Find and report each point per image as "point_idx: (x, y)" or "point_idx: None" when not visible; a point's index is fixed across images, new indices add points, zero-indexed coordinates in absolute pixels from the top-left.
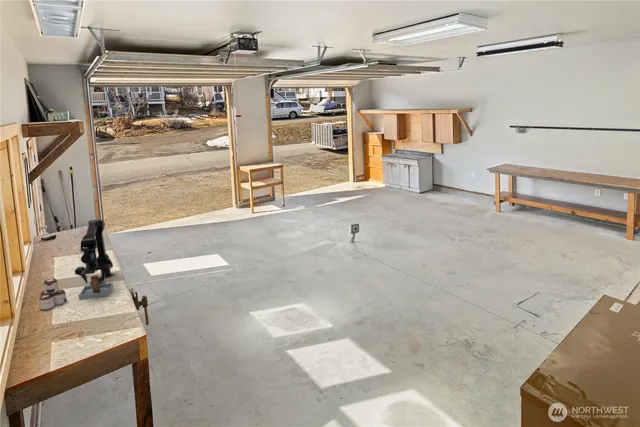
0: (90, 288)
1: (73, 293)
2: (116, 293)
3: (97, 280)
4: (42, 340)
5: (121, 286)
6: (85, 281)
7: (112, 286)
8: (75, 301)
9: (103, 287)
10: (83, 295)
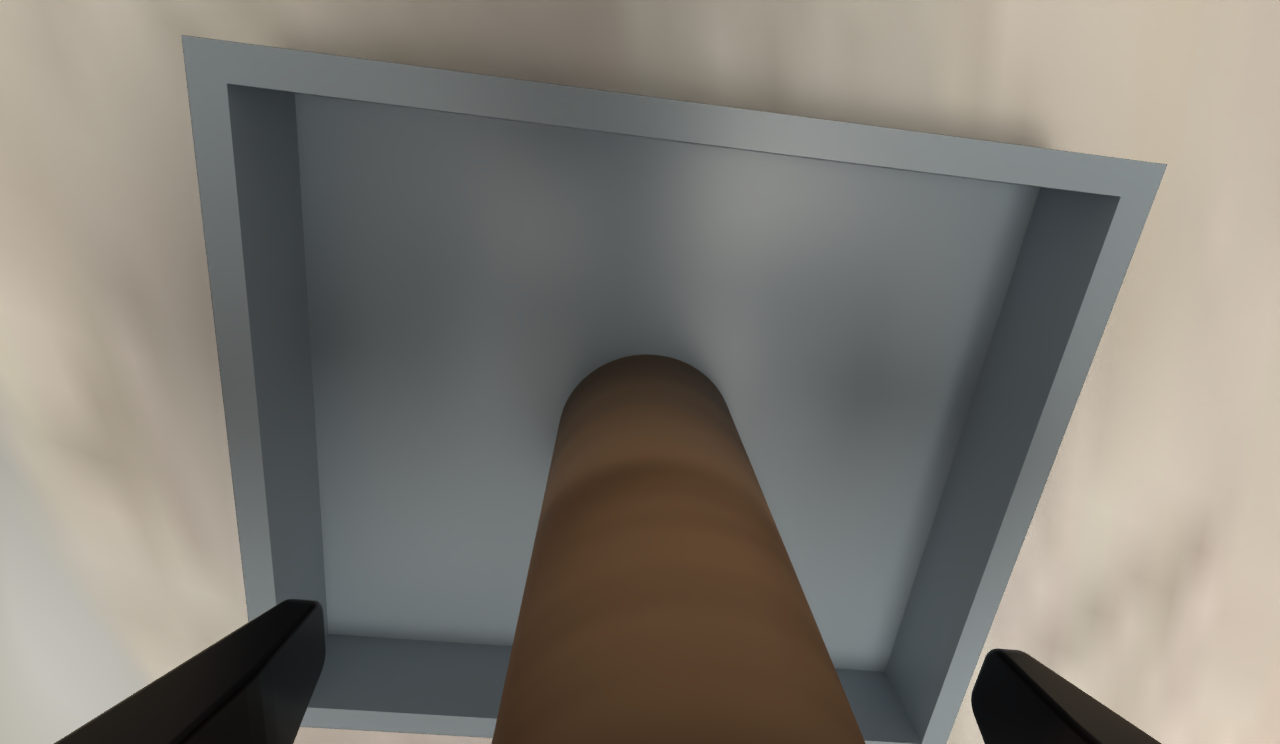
0: None
1: (1120, 612)
2: (117, 210)
3: (529, 657)
4: None
5: (136, 610)
6: (1122, 723)
7: None
8: (1158, 100)
9: None
10: (1014, 144)
